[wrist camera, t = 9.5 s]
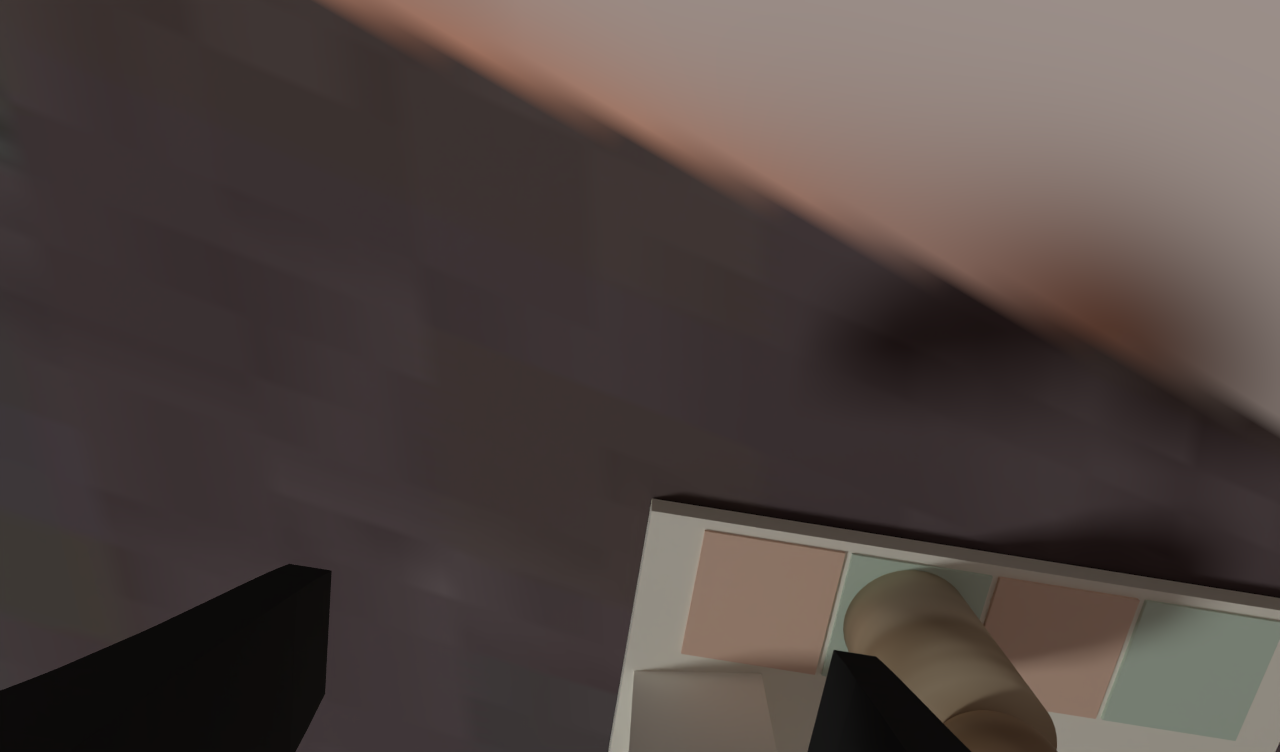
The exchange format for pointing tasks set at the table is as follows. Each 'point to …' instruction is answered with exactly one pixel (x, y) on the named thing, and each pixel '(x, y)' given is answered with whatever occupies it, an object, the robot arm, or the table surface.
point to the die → (699, 713)
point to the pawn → (948, 661)
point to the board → (999, 596)
